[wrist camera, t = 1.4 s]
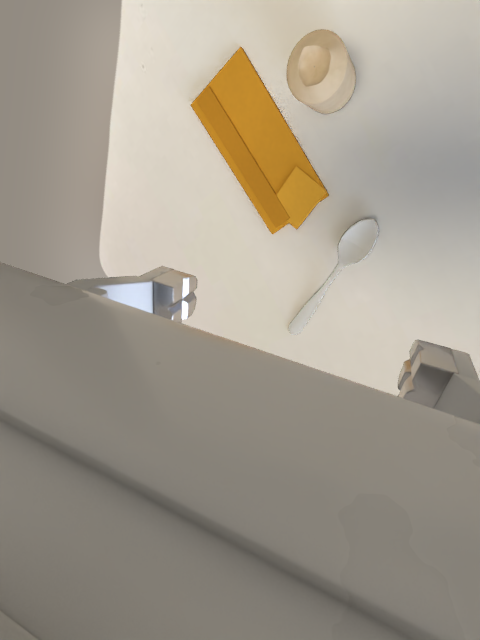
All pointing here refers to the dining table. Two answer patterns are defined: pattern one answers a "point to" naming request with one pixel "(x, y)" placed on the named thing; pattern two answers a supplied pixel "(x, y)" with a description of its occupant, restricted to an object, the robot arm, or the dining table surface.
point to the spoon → (341, 265)
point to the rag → (258, 145)
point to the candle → (321, 72)
